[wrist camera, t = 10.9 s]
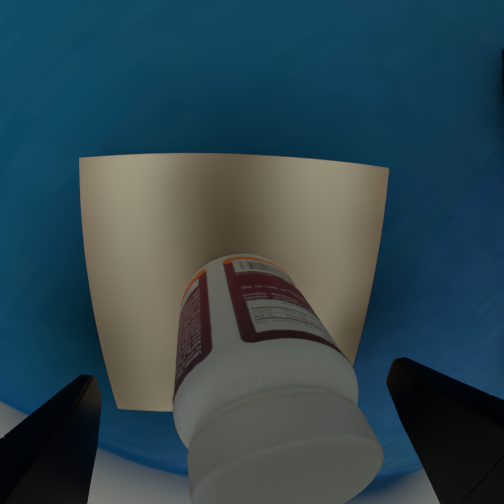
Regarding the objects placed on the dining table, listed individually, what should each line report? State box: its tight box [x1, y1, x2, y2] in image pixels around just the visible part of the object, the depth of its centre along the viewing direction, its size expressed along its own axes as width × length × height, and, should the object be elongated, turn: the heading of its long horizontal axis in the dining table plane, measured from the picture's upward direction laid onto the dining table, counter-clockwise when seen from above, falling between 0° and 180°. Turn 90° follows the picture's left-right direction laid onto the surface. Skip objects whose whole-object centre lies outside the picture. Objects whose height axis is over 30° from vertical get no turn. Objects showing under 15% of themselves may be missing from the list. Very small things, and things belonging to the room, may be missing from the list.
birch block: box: [79, 153, 389, 411], centre depth 14 cm, size 12×12×3 cm
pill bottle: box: [173, 253, 384, 504], centre depth 9 cm, size 5×5×8 cm
